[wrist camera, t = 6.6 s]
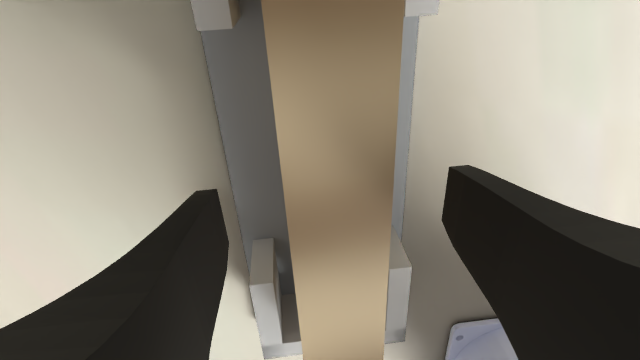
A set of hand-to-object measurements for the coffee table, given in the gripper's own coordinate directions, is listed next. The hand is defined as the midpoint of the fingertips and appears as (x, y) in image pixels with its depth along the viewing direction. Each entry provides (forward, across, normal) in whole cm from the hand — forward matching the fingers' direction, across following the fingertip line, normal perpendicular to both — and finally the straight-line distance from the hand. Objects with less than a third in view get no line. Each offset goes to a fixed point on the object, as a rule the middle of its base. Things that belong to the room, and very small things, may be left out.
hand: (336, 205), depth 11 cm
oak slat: (+5, 0, 0) cm, 5 cm away
